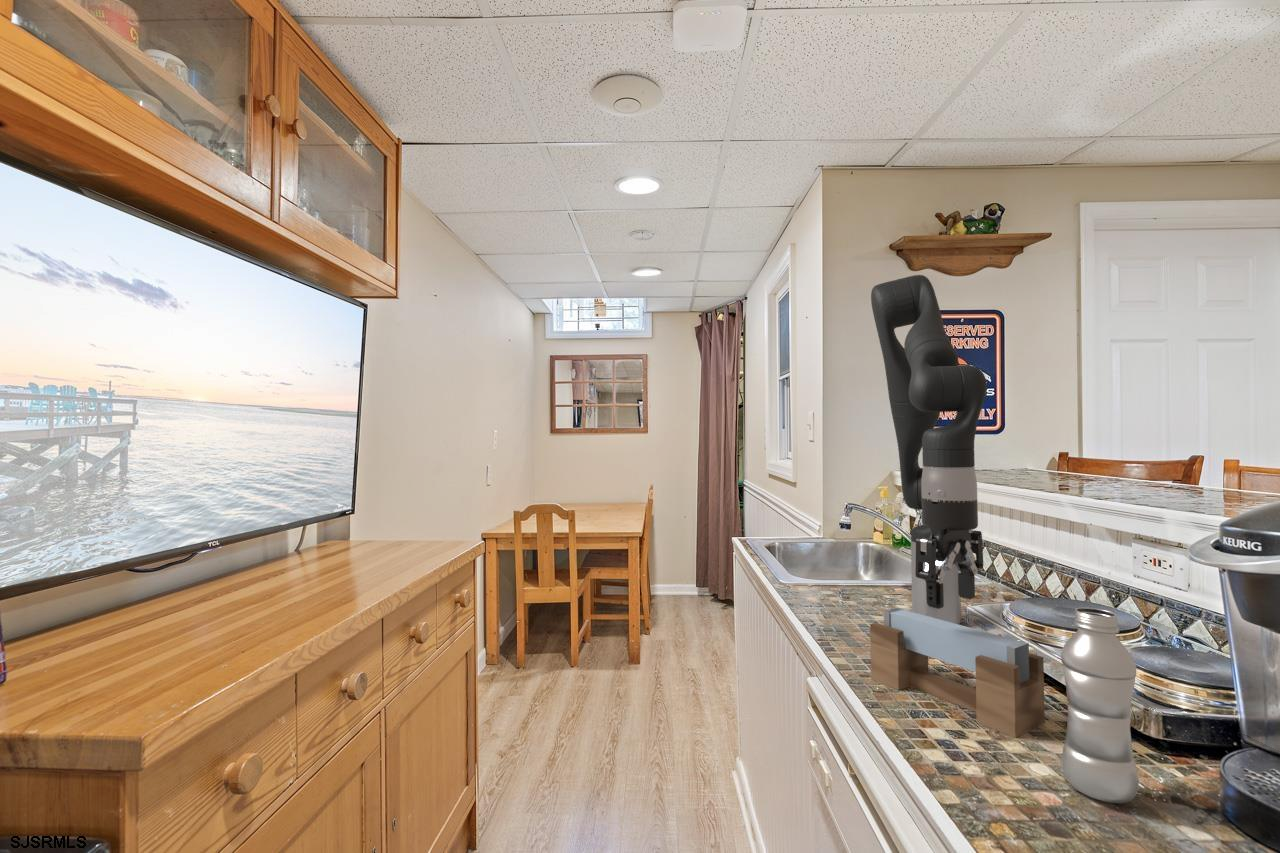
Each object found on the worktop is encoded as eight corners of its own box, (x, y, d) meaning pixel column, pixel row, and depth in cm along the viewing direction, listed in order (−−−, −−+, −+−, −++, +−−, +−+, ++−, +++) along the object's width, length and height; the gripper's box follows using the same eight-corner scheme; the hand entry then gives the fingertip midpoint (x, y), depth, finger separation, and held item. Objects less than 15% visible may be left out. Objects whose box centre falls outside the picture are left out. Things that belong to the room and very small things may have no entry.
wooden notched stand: (900, 669, 98) (900, 616, 98) (1044, 722, 79) (1043, 657, 80) (870, 679, 94) (870, 624, 94) (1015, 738, 75) (1013, 668, 75)
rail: (898, 637, 96) (898, 607, 97) (1029, 679, 79) (1028, 643, 79) (884, 642, 94) (883, 611, 94) (1015, 685, 77) (1014, 648, 77)
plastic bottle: (1067, 769, 68) (1063, 600, 68) (1143, 794, 63) (1138, 612, 64) (1056, 793, 63) (1052, 611, 64) (1137, 822, 59) (1131, 625, 59)
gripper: (950, 491, 94) (953, 590, 94) (898, 497, 87) (900, 604, 86) (999, 495, 88) (1001, 600, 88) (946, 501, 80) (949, 617, 80)
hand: (951, 602), depth 87 cm, fingers open, 8 cm apart
